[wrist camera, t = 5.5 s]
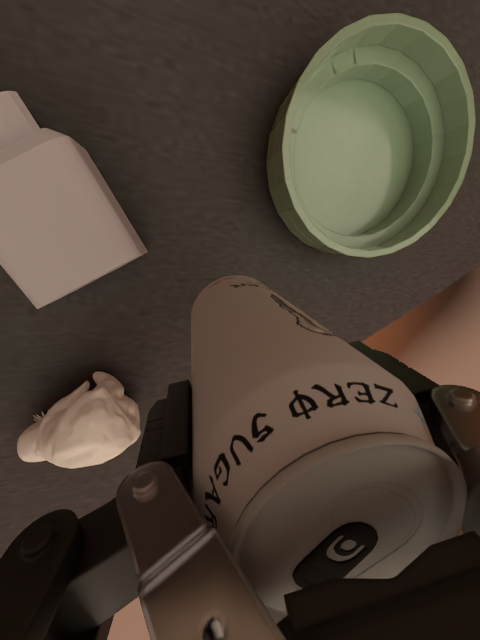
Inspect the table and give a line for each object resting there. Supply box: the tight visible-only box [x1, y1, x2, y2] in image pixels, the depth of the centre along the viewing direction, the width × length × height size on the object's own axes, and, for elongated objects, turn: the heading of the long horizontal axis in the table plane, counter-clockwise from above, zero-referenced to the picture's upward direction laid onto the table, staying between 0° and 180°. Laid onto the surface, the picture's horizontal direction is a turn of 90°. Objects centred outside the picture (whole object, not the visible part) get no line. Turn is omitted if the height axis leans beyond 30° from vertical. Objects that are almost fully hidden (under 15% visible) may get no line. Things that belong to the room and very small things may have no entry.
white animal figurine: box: [17, 371, 141, 468], centre depth 24 cm, size 6×8×12 cm
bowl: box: [266, 13, 476, 258], centre depth 23 cm, size 16×16×5 cm
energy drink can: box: [191, 275, 468, 624], centre depth 12 cm, size 6×6×15 cm
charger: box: [0, 91, 148, 309], centre depth 20 cm, size 5×9×15 cm
